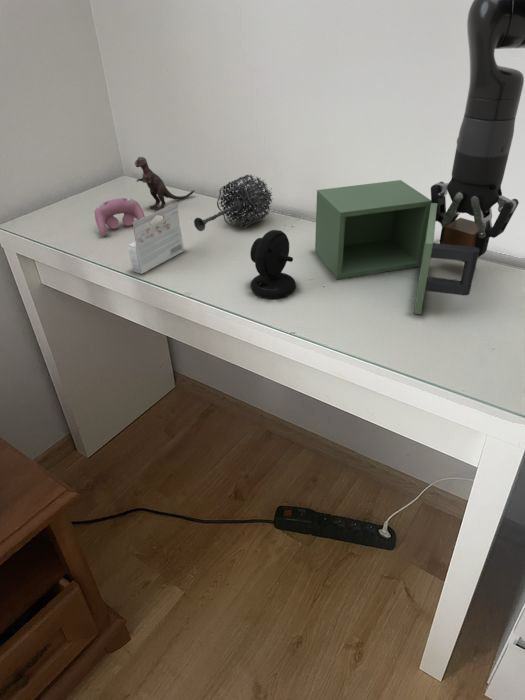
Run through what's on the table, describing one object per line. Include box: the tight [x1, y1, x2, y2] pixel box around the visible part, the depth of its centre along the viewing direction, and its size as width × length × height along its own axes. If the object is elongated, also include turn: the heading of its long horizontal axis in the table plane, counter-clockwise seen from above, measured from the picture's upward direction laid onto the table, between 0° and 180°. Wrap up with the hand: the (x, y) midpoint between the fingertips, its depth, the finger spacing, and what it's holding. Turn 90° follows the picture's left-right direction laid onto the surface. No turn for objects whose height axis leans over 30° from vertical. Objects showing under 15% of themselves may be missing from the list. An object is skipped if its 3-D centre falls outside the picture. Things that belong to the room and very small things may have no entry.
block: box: [442, 217, 478, 263], centre depth 88 cm, size 5×5×5 cm
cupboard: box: [314, 179, 432, 280], centre depth 92 cm, size 11×16×12 cm
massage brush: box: [193, 174, 274, 232], centre depth 106 cm, size 9×22×9 cm, turn 144°
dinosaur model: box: [134, 156, 195, 212], centre depth 117 cm, size 4×12×15 cm
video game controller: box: [94, 197, 146, 237], centre depth 109 cm, size 10×5×7 cm, turn 116°
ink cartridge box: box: [127, 201, 185, 275], centre depth 94 cm, size 2×11×10 cm, turn 144°
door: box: [413, 203, 479, 315], centre depth 81 cm, size 7×16×12 cm, turn 163°
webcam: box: [250, 229, 297, 300], centre depth 85 cm, size 8×8×10 cm
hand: (461, 251), depth 89 cm, fingers closed on block, 5 cm apart
